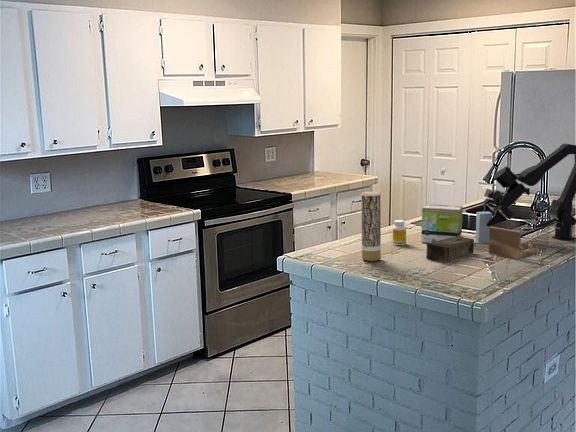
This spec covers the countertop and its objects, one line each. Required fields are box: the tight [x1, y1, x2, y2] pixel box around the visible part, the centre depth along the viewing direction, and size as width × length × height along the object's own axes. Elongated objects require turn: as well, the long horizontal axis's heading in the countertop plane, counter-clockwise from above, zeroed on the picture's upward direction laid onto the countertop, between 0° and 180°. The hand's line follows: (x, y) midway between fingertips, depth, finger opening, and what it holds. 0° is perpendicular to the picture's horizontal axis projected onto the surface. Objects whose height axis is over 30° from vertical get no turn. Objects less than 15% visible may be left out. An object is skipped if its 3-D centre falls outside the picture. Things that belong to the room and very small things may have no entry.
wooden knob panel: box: [488, 226, 537, 260], centre depth 228 cm, size 13×12×10 cm
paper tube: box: [361, 191, 382, 262], centre depth 224 cm, size 7×7×25 cm
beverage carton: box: [425, 235, 475, 263], centre depth 227 cm, size 8×19×7 cm, turn 128°
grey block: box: [475, 211, 493, 244], centre depth 246 cm, size 5×4×12 cm
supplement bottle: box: [392, 219, 407, 246], centre depth 247 cm, size 5×5×10 cm
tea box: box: [421, 203, 464, 243], centre depth 249 cm, size 15×10×15 cm
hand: (482, 223), depth 246 cm, fingers open, 9 cm apart
